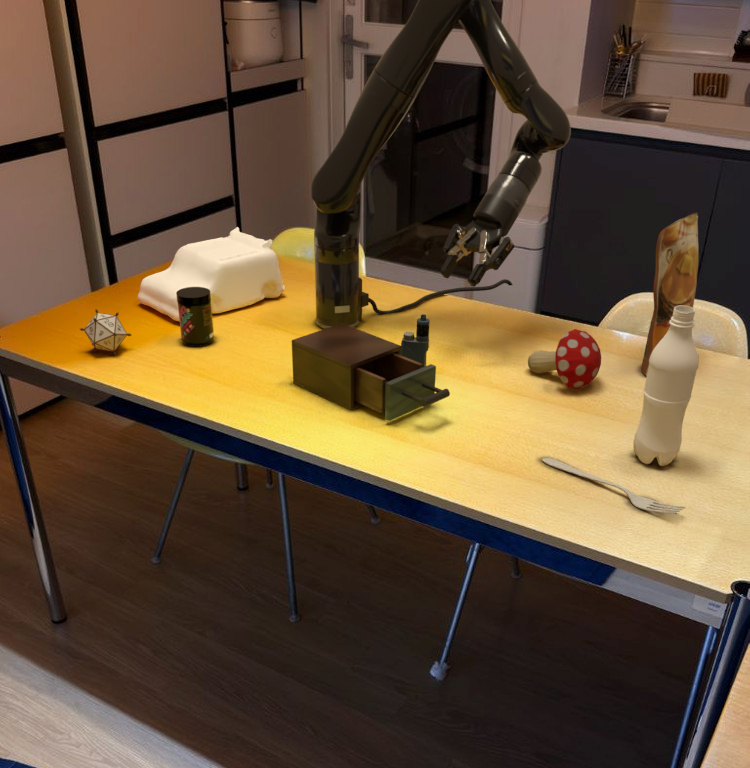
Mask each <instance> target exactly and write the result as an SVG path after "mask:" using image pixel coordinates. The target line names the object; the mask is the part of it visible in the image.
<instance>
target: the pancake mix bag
mask: <svg viewBox="0 0 750 768" xmlns="http://www.w3.org/2000/svg"><path fill="white" fill-rule="evenodd" d="M698 214H699V212H697V211H696V212H693V213H691V214H689V215H687V216H685V217H682V218H680V219H678V220H676V221H674V222H672V223H671V224H669V225H667V226H666V227H664V228H663V229H662V230H661V231H660V232H659V234H658V238H657V240H656V246H655V273H654V278H653V286H652V287H653V288H652V289H653V293H652V294H653V295H652V296H653V311H652V317H651V321H650V324H649V329H648V333H647V338H646V343H645V348H644V352H643V358H642V361H641V366H640V372H642V374H643V375H644V376H646V377H647V373H648V368H649V359H650V356H651V353H652V351H653V350H654V348H655V347H656V346H657V344H658V343H659V342H660V341H661V340H662V338H663V337H664V336H665V335H666V333H667V332H668V330H669V328H670V324H669V321H670V320H671V317H672V316H673V311H674V308H675V307H676V306H689V307H692V308H694V304H695V299H696V298H695V297H696V291H697V285H698V284H697V283H698V272H699V249H700V248H699V245H700V244H699V215H698Z"/></svg>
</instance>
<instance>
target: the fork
mask: <svg viewBox="0 0 750 768" xmlns="http://www.w3.org/2000/svg"><path fill="white" fill-rule="evenodd" d="M542 462H543V463H545V464H546V465H548V466H551V467H553V468H556V469H559V470H562V471H563V472H567V473H570V474H573V475H575V476H579V477H583V478H585V479H589V480H592V481H594V482H598V483H601V484H604V485H608V486H611V487H614V488H617V489H619V490H621V491H623V492H624V493H625V494H626V495H627V497H628V498H629V500H630V502H631V503H632V505H633V506H635V507H637V508H638V509H641V510H645V511H649V512H655V513H657V512H658V513H662V514H671V515H672V514H673V515H676V514H678V513H680V511H684V509H686V508H687V507H686V506H681V505H675V504H669V503H665V502H660V501H656V500H653V499H651V498H648V497H644V496H641V495H638V494H636V493H634V492H632V491H631V490H629V489H628V488H626V487H624V486H622V485H620V484H617V483H614V482H612V481H609V480H607V479H603V478H601V477H598V476H595V475H593V474H590V473H588V472H586V471H583V470H580V469H578V468H576V467H574V466H571V465H569V464H567V463H565V462H562V461H560V460H557V459H554V458H551V457H544V458H542Z"/></svg>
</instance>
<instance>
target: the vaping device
mask: <svg viewBox="0 0 750 768" xmlns="http://www.w3.org/2000/svg"><path fill="white" fill-rule="evenodd" d="M400 342H401V343H400V346H401V356H404V357H406V358H409V359H411V360H414V361H416V362H419V363H422V364H423V367H425V366H427V354H428V353H427V352H428V351H429V348H430V318H427V315H426V314H424V313H422V314H420V317H418V318H417V319H416V335H415V333H414V332H413V331H405V332H404V333H403V337H402V340H401V341H400Z"/></svg>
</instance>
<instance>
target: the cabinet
mask: <svg viewBox="0 0 750 768" xmlns="http://www.w3.org/2000/svg"><path fill="white" fill-rule="evenodd" d="M392 353H396V354H399V355H401V344H397V343H395V342H392V341H390V340H387V339H384V338H382V337H379V336H377V335H373V334H371V333H368V332H366V331H365V330H364V331H363V330H361V329H359V328H356V327H354V328H353V327H351V326H348V325H345V324H343V323H341V324H338V325H335V326H332V327H329V328H326V329H324V328H322V329H320V330H318V331H314V332H312V333H309V334H306V335H303V336H300V337H296V338H294V339H291V360H292V361H291V363H292V384H293V385H296V386H297V387H300V388H302V389H303V390H304V389H305V390H306V391H308V392H310V393H313V394H314V395H317V396H319V397H322V398H324V399H325V400H328V401H329V402H332V403H334V404H336V405H338V406H340V407H343V408H344V409H347V410H349V411H352V410H355V409H357V408H360V407H362V406H363V405H362V404H360V403H358V402H355V401H354V368H355V367H358V366H360V365H363V364H365V363H368V362H371V361H373V360H376V359H378V358H381V357H384V356H386V355H389V354H392Z"/></svg>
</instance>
